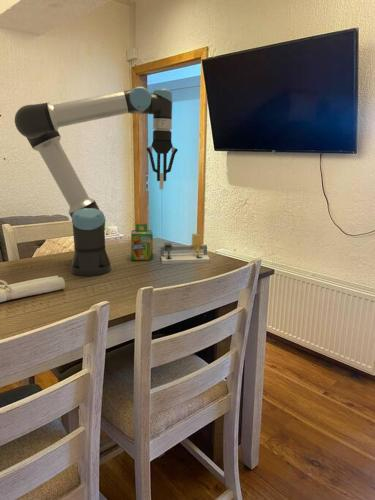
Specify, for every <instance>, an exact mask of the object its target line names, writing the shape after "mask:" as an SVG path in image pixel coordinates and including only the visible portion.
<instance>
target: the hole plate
mask: <svg viewBox="0 0 375 500" xmlns="http://www.w3.org/2000/svg"><path fill="white" fill-rule="evenodd" d="M200 250H203V252H199V257H197V252H194V253H190V252H189V253H170V259H168V253H165V252H166V251H165V247H164V245H161V246H160V261H161V264H162V265H173V264H174V265H175V264H177V265H178V264H181V265H182V264H203V263H204V264H205V263H207V264H208V263H209V262H211V258H210V257H209V255H208V245H207V244H200ZM172 251H194V250H193V245H192V244H191V245H188V244H187V245H172Z"/></svg>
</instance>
